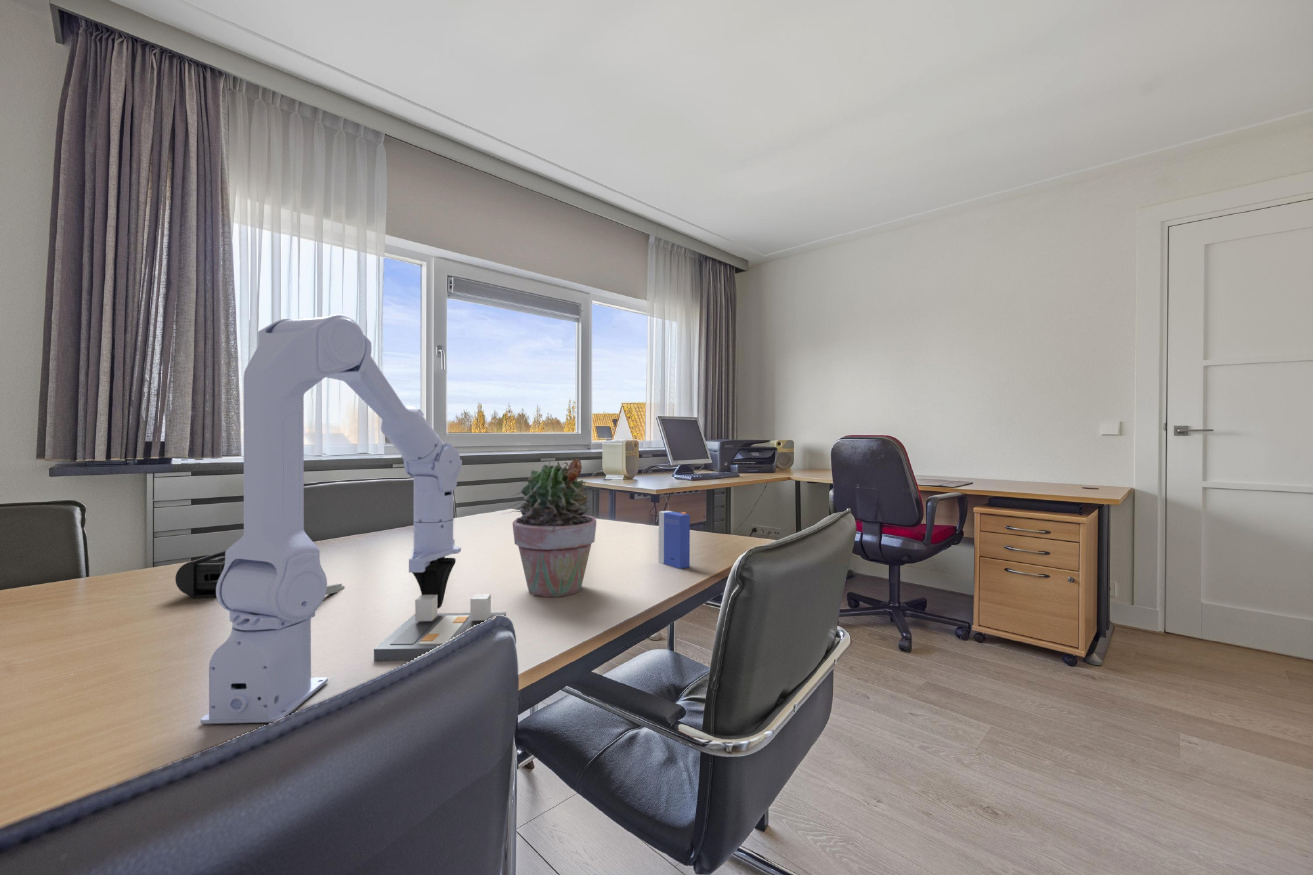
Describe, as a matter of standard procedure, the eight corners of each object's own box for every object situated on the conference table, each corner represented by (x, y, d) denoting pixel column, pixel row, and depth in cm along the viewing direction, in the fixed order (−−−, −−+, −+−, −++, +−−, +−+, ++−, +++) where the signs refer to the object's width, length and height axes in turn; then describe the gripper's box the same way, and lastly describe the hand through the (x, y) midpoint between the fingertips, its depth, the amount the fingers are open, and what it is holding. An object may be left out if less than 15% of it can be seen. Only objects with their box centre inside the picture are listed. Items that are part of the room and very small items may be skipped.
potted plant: (530, 572, 117) (530, 454, 116) (616, 581, 111) (616, 456, 110) (477, 597, 99) (477, 458, 99) (575, 608, 93) (576, 461, 93)
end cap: (212, 584, 107) (212, 549, 107) (252, 583, 108) (252, 548, 108) (174, 600, 97) (174, 562, 97) (218, 598, 98) (218, 561, 98)
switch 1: (431, 621, 82) (431, 599, 82) (415, 621, 81) (415, 599, 81) (437, 615, 84) (437, 594, 84) (421, 615, 84) (421, 594, 84)
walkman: (689, 567, 122) (690, 513, 122) (680, 569, 120) (680, 514, 120) (667, 560, 128) (667, 508, 128) (658, 562, 127) (658, 509, 127)
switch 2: (486, 620, 82) (486, 598, 82) (470, 620, 82) (470, 599, 82) (490, 614, 84) (490, 594, 84) (474, 615, 84) (474, 594, 84)
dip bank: (482, 658, 73) (482, 645, 73) (373, 660, 72) (373, 647, 72) (506, 621, 87) (506, 611, 87) (415, 623, 86) (415, 612, 86)
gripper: (444, 528, 79) (444, 623, 79) (472, 513, 93) (472, 593, 93) (393, 528, 78) (393, 623, 78) (430, 513, 93) (430, 593, 93)
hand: (433, 607), depth 86 cm, fingers closed
